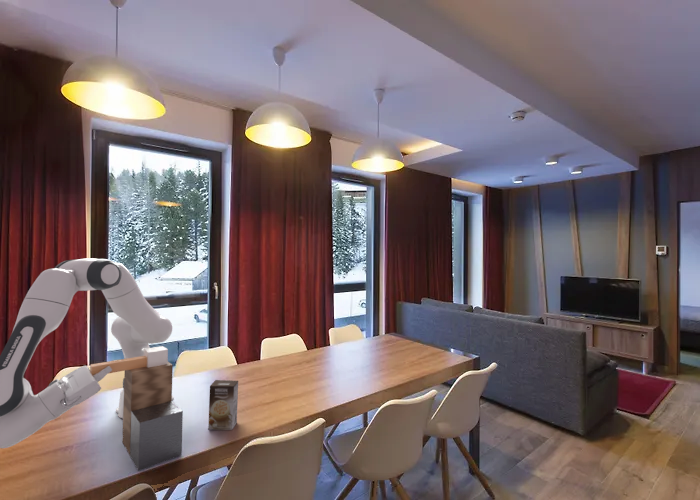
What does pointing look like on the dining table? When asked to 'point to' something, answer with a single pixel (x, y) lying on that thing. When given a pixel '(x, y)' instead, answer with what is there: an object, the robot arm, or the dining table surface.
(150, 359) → the wooden handled mallet
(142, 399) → the tall wood-grain pillar
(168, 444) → the block
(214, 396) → the coffee box
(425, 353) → the dining table surface
